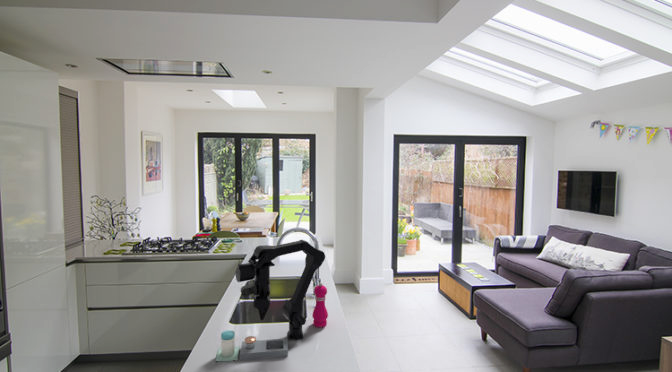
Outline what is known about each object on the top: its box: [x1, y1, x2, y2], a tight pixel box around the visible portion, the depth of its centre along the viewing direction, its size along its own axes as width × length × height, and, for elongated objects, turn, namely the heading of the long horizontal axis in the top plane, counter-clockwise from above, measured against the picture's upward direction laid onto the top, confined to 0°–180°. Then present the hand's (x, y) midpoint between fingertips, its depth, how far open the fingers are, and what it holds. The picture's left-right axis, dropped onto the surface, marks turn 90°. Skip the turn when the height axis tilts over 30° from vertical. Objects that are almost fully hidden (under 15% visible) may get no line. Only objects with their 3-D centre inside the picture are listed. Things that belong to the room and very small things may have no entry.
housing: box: [239, 337, 289, 361], centre depth 140 cm, size 9×18×2 cm, turn 100°
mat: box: [214, 346, 241, 363], centre depth 137 cm, size 9×8×1 cm
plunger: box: [244, 335, 257, 349], centre depth 139 cm, size 4×4×6 cm
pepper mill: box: [312, 282, 329, 328], centre depth 163 cm, size 7×7×20 cm
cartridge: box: [220, 329, 236, 357], centre depth 137 cm, size 5×5×8 cm
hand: (262, 314), depth 144 cm, fingers open, 9 cm apart
